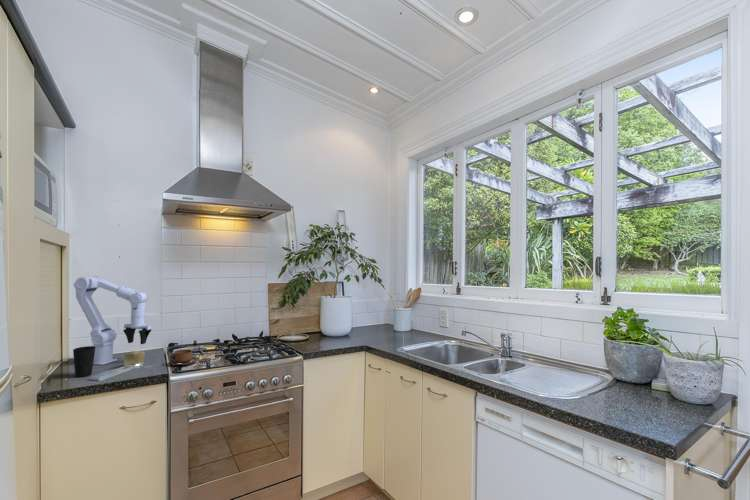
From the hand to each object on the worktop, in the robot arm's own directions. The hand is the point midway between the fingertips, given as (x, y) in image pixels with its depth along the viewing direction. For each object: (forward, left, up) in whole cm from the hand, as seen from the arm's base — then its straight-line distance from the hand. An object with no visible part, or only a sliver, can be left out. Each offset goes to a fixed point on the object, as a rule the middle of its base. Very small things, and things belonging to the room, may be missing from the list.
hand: (136, 343), depth 173 cm
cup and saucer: (+25, +3, -10) cm, 27 cm away
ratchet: (+6, -15, -9) cm, 19 cm away
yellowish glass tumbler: (+6, -7, -8) cm, 12 cm away
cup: (-5, -22, -10) cm, 25 cm away
